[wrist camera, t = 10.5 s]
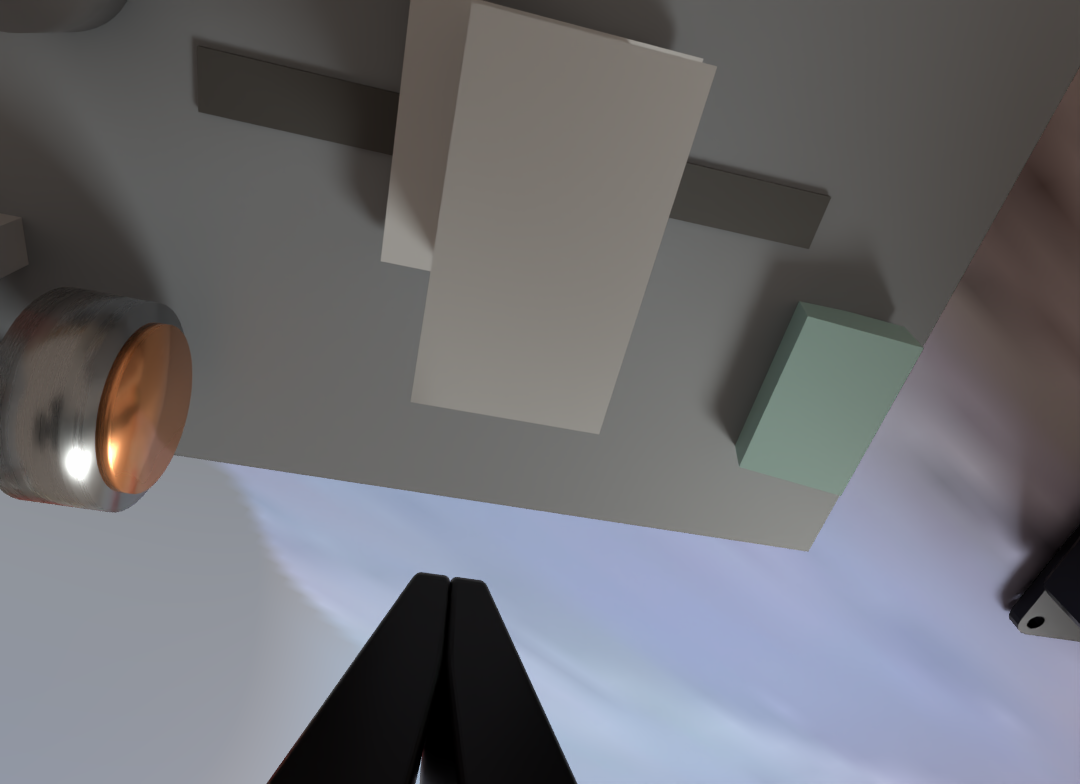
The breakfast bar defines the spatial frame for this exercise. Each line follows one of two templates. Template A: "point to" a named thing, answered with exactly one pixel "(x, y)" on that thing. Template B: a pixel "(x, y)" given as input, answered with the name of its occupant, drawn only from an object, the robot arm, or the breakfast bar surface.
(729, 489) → the console
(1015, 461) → the breakfast bar surface
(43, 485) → the plunger
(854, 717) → the breakfast bar surface
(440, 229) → the white stepped block
